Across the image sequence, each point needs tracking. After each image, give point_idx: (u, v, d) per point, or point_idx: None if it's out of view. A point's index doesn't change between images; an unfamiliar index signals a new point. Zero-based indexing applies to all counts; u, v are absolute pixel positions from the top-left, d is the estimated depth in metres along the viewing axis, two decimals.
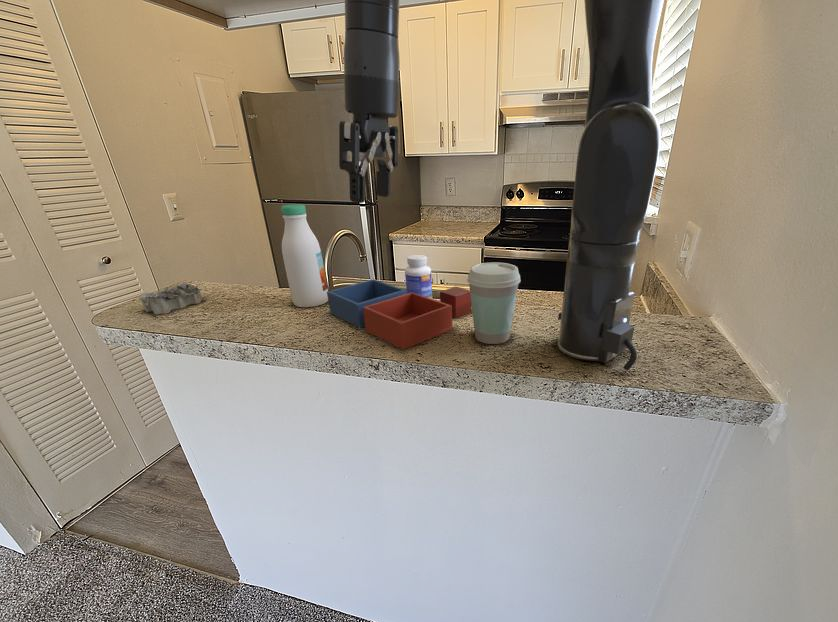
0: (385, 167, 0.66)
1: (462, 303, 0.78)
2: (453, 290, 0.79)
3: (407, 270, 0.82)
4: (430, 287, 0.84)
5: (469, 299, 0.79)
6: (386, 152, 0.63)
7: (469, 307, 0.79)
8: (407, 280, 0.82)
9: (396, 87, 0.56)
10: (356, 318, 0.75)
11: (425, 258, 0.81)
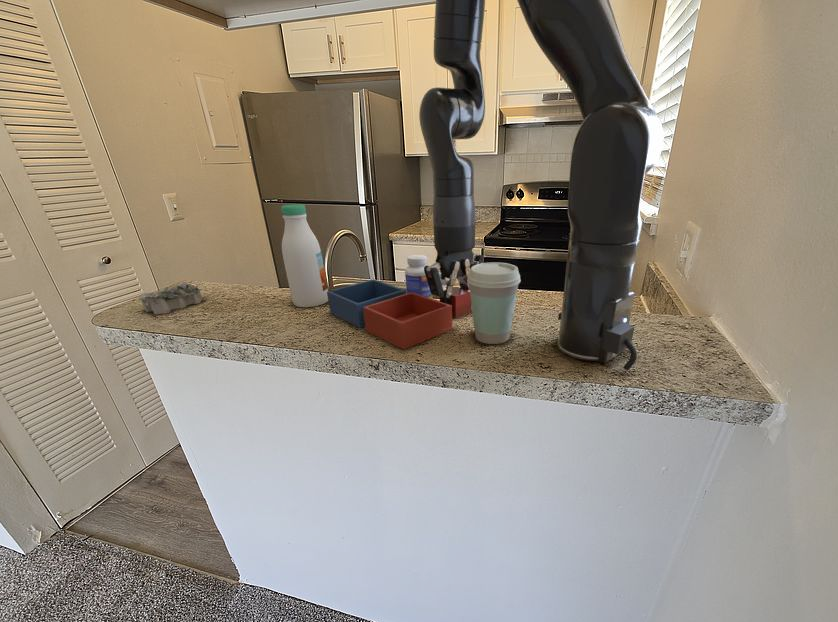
0: (465, 287, 0.79)
1: (462, 303, 0.78)
2: (453, 290, 0.79)
3: (407, 270, 0.82)
4: None
5: (469, 299, 0.79)
6: (465, 274, 0.77)
7: (469, 307, 0.79)
8: (407, 280, 0.82)
9: (469, 230, 0.70)
10: (356, 318, 0.75)
11: (425, 258, 0.81)
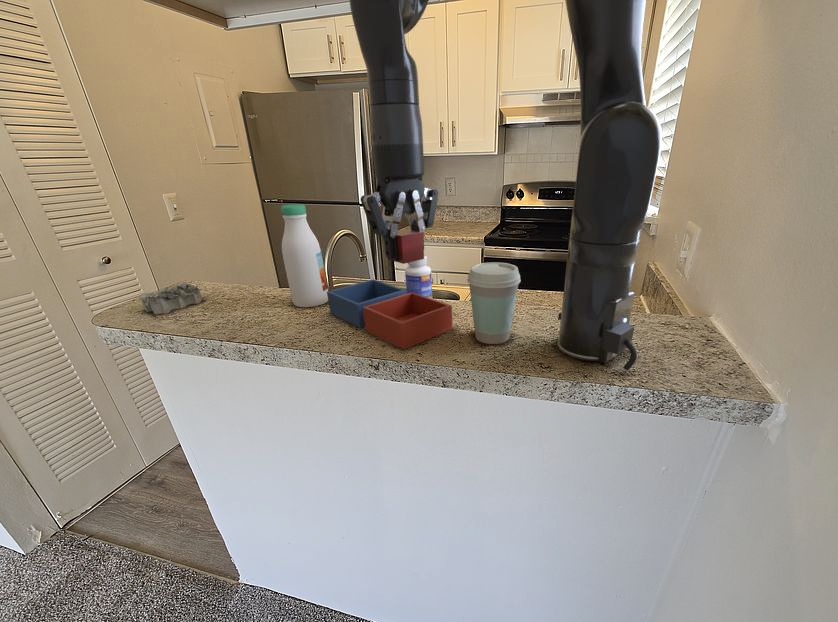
0: (416, 228, 0.67)
1: (411, 246, 0.65)
2: (402, 231, 0.66)
3: (407, 270, 0.82)
4: (430, 287, 0.84)
5: (420, 242, 0.66)
6: (415, 210, 0.64)
7: (421, 252, 0.67)
8: (407, 280, 0.82)
9: (414, 149, 0.58)
10: (356, 318, 0.75)
11: (425, 258, 0.81)
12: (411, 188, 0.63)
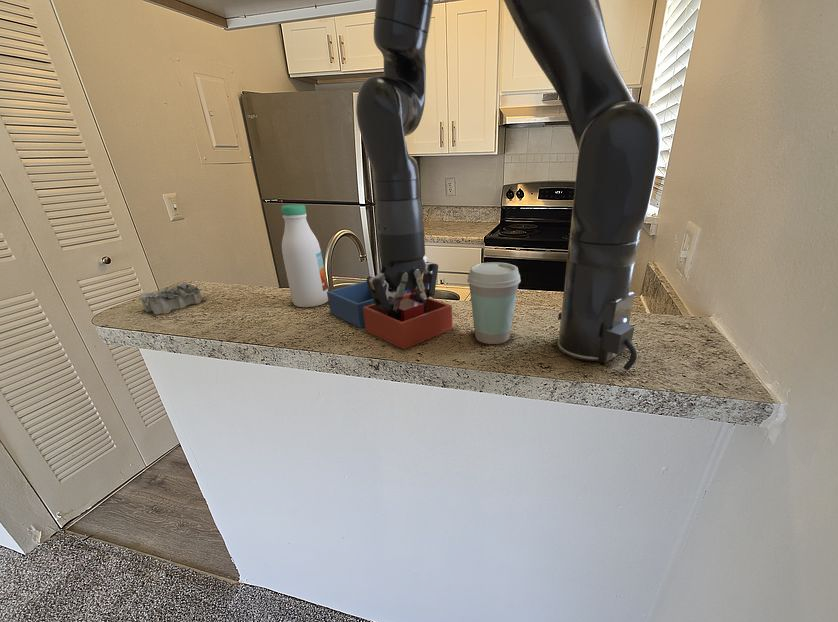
0: (419, 299, 0.72)
1: (413, 317, 0.70)
2: (404, 303, 0.71)
3: None
4: None
5: (421, 313, 0.71)
6: (417, 285, 0.69)
7: None
8: None
9: (416, 237, 0.63)
10: (356, 318, 0.75)
11: (425, 258, 0.81)
12: (413, 267, 0.68)
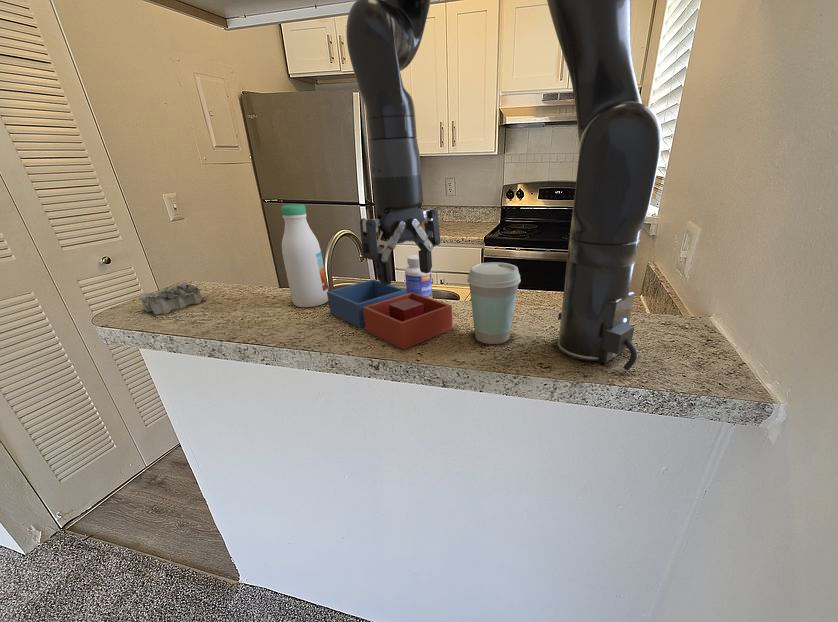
0: (424, 247, 0.69)
1: (413, 317, 0.70)
2: (404, 303, 0.71)
3: (407, 270, 0.82)
4: (430, 287, 0.84)
5: (421, 313, 0.71)
6: (418, 235, 0.66)
7: None
8: (407, 280, 0.82)
9: (412, 181, 0.59)
10: (356, 318, 0.75)
11: None
12: (410, 216, 0.64)
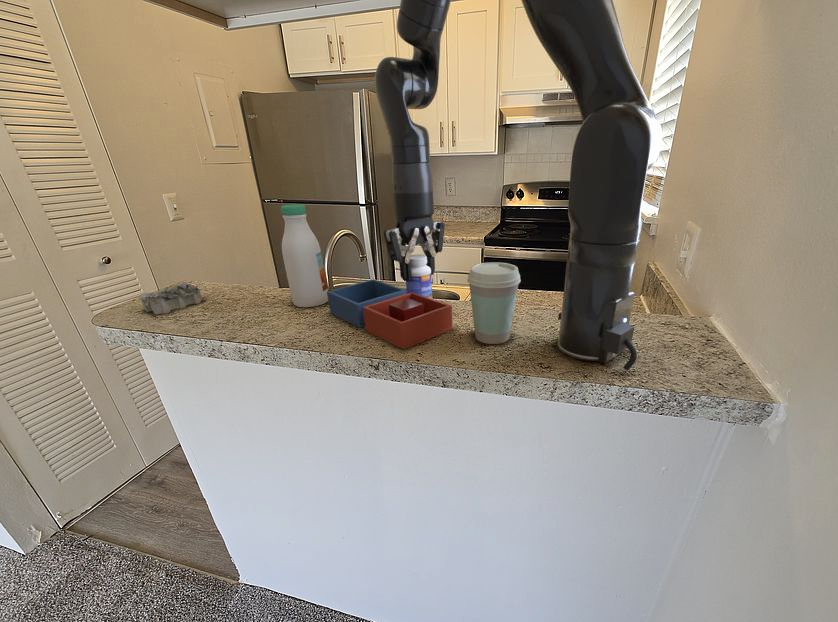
0: (429, 253, 0.83)
1: (413, 317, 0.70)
2: (404, 303, 0.71)
3: None
4: (430, 287, 0.84)
5: (421, 313, 0.71)
6: (427, 241, 0.80)
7: None
8: None
9: (426, 196, 0.74)
10: (356, 318, 0.75)
11: (425, 258, 0.81)
12: (423, 224, 0.79)
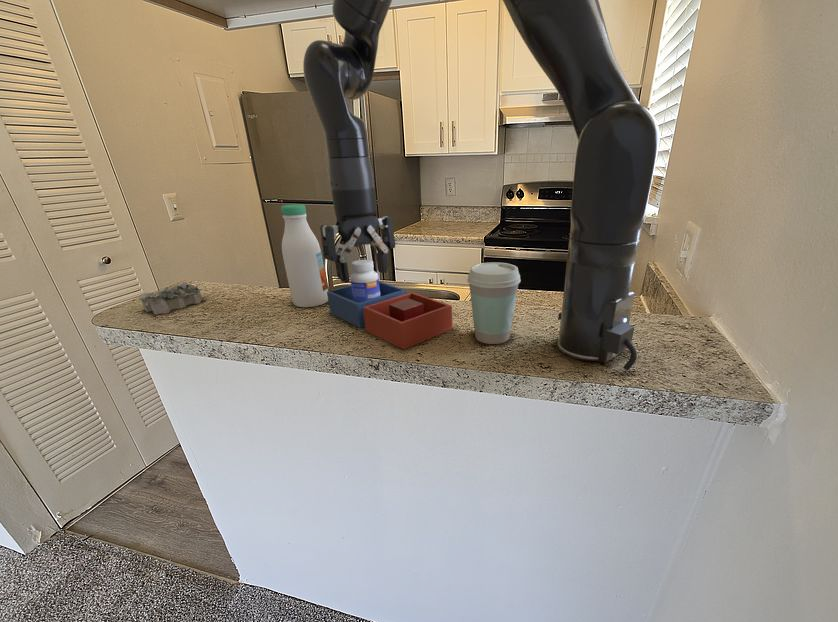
0: (380, 250, 0.78)
1: (413, 317, 0.70)
2: (404, 303, 0.71)
3: (352, 276, 0.77)
4: (377, 294, 0.79)
5: (421, 313, 0.71)
6: (374, 240, 0.75)
7: None
8: (352, 287, 0.77)
9: (365, 193, 0.69)
10: (356, 318, 0.75)
11: (370, 263, 0.76)
12: (366, 223, 0.74)
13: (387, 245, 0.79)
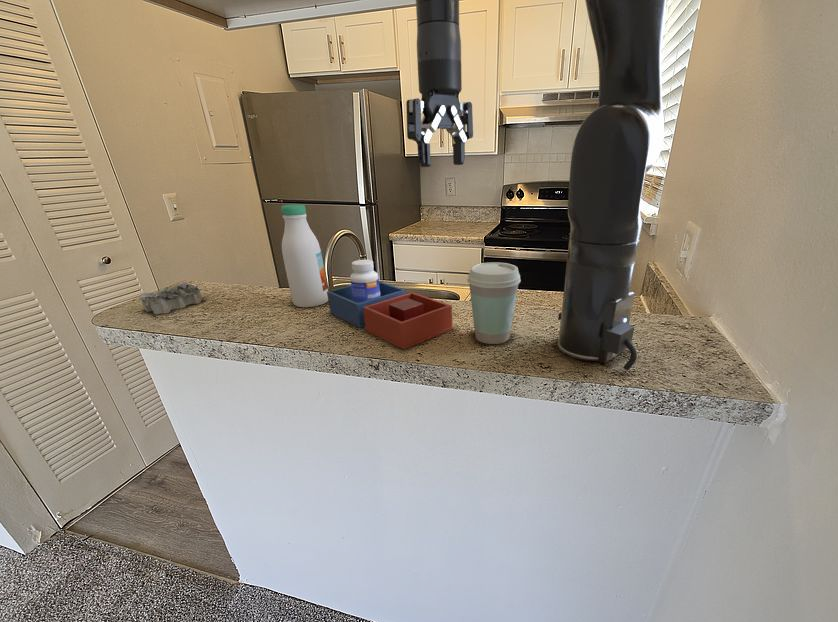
0: (459, 138, 0.76)
1: (413, 317, 0.70)
2: (404, 303, 0.71)
3: (352, 276, 0.77)
4: (377, 294, 0.79)
5: (421, 313, 0.71)
6: (455, 124, 0.74)
7: None
8: (352, 287, 0.77)
9: (455, 64, 0.67)
10: (356, 318, 0.75)
11: (370, 263, 0.76)
12: (449, 104, 0.72)
13: (465, 134, 0.77)
